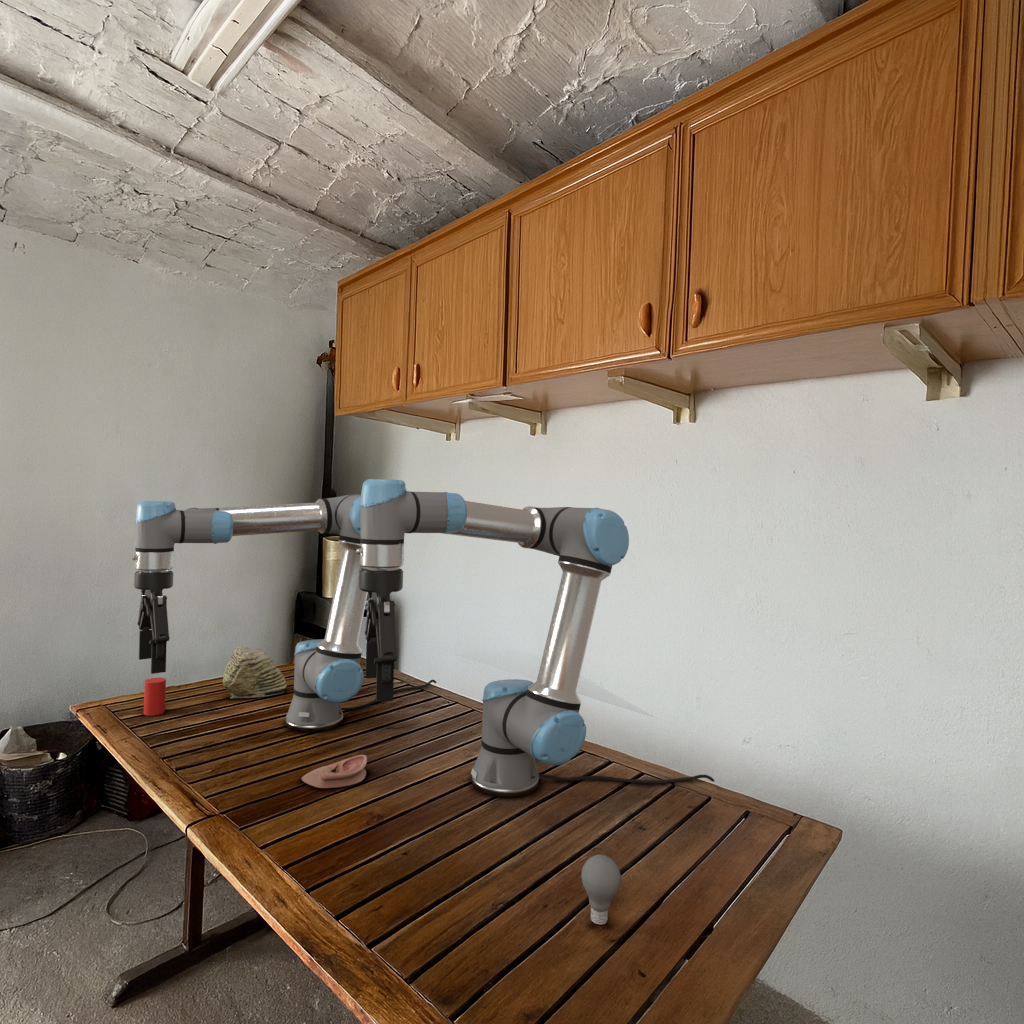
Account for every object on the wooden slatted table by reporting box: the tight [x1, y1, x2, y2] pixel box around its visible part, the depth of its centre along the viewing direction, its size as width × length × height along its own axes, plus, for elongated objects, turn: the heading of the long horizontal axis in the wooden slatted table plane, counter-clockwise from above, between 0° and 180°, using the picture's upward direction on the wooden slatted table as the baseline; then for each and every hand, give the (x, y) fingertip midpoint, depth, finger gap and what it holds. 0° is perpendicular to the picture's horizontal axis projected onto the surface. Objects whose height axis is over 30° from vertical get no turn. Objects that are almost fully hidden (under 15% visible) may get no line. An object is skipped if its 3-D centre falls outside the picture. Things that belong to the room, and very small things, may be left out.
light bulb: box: [580, 854, 622, 926], centre depth 97 cm, size 6×6×10 cm
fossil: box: [222, 646, 288, 699], centre depth 198 cm, size 9×18×15 cm, turn 132°
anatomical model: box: [301, 754, 368, 789], centre depth 143 cm, size 13×4×12 cm
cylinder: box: [143, 677, 167, 717], centre depth 179 cm, size 5×5×9 cm
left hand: (151, 665), depth 141 cm, fingers open, 13 cm apart
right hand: (378, 688), depth 111 cm, fingers open, 13 cm apart
